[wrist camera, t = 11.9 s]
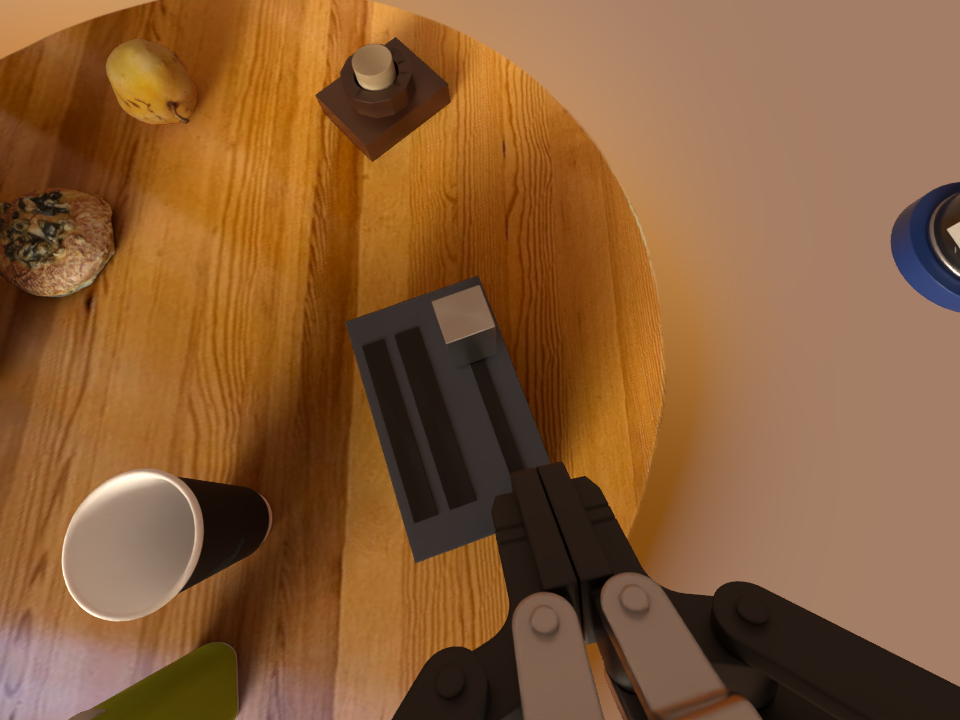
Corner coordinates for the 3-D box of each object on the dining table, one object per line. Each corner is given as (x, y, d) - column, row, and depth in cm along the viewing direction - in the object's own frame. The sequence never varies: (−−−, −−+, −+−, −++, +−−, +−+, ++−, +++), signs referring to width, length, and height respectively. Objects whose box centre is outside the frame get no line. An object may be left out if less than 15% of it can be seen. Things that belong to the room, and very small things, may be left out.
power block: (400, 56, 46) (391, 18, 42) (450, 102, 44) (445, 66, 40) (323, 113, 45) (306, 78, 41) (372, 162, 43) (359, 131, 39)
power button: (380, 54, 42) (375, 36, 40) (404, 76, 41) (400, 59, 39) (350, 76, 41) (343, 59, 39) (373, 99, 40) (368, 82, 39)
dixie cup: (270, 589, 34) (163, 642, 23) (177, 559, 35) (33, 596, 24) (306, 484, 36) (222, 489, 25) (217, 458, 37) (100, 452, 26)
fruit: (196, 74, 39) (150, 3, 42) (111, 95, 37) (67, 19, 39) (224, 137, 46) (183, 73, 48) (153, 159, 43) (113, 91, 46)
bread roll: (-11, 235, 43) (-68, 202, 38) (105, 184, 45) (66, 147, 41) (34, 325, 41) (-20, 302, 36) (154, 266, 43) (118, 237, 39)
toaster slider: (497, 354, 27) (495, 326, 22) (456, 368, 27) (445, 344, 22) (484, 318, 28) (479, 284, 22) (444, 333, 27) (431, 301, 22)
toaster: (549, 497, 35) (568, 506, 25) (440, 538, 34) (414, 563, 24) (484, 325, 38) (478, 274, 28) (385, 360, 38) (344, 321, 28)
